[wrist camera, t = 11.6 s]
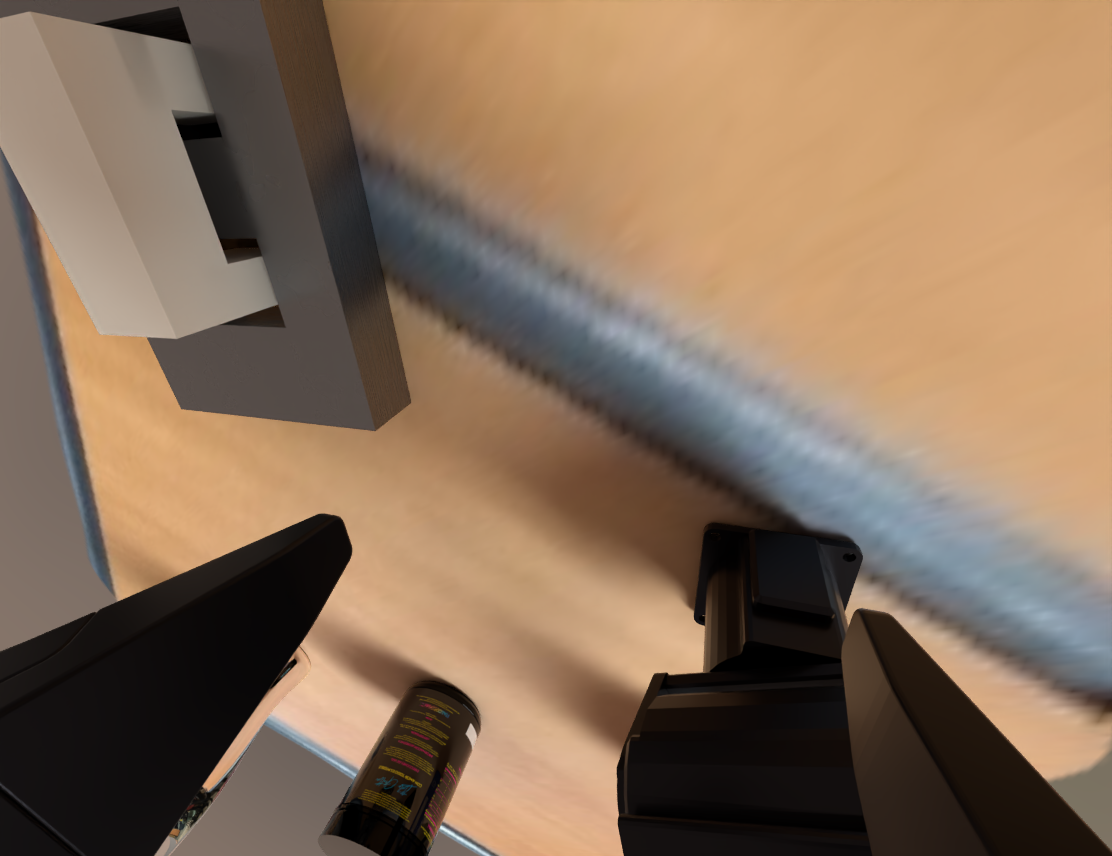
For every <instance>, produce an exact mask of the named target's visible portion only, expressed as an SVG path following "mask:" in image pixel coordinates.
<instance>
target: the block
mask: <svg viewBox="0 0 1112 856" xmlns="http://www.w3.org/2000/svg"><path fill="white" fill-rule="evenodd" d="M216 122H217V119H216V116H215V113H214V110H213V107H212V104H211V101H210V98H209V95H208V92H207V89H206V86H205V83H204V80H203V77H202V74H201V71H200V68H199V65H198V62H197V59H196V56H195V53H194V50H193V47H192V44H187V43H183V42H178V41H173V40H168V39H163V38H158V37H153V36H148V35H143V34H138V33H133V32H128V31H124V30H119V29H114V28H109V27H104V26H99V25H94V24H89V23H84V22H79V21H74V20H69V19H64V18H60V17H55V16H50V15H45V14H40V13H35V12H25V13H21V14H16V15H12V16H8V17H3V18H0V147H1V149H2V151H3V153H4V155H5V157H6V159H7V160H8V162H9V164H10V166H11V168H12V170H13V172H14V174H15V176H16V177H17V179H18V181H19V183H20V185H21V187H22V189H23V191H24V193H25V195H26V196H27V198H28V200H29V202H30V204H31V206H32V208H33V210H34V212H35V213H36V215H37V217H38V219H39V221H40V223H41V225H42V227H43V229H44V230H45V232H46V234H47V236H48V238H49V240H50V242H51V244H52V246H53V248H54V249H55V251H56V253H57V255H58V257H59V259H60V261H61V263H62V265H63V266H64V268H65V270H66V272H67V274H68V276H69V278H70V280H71V282H72V283H73V285H74V287H75V289H76V291H77V293H78V295H79V297H80V299H81V301H82V302H83V304H84V306H85V308H86V310H87V312H88V314H89V316H90V318H91V319H92V321H93V323H94V325H95V327H96V329H97V331H98V333H99V334H100V335H118V336H136V337H153V338H171V339H178V338H181V337H184V336H187V335H190V334H193V333H196V332H199V331H202V330H205V329H208V328H211V327H213V326H216V325H219V324H222V323H225V322H228V321H231V320H234V319H237V318H240V317H243V316H246V315H249V314H252V313H255V312H257V311H260V310H263V309H266V308H269V307H272V306H275V305H278V302H277V299H276V296H275V293H274V290H273V287H272V284H271V281H270V278H269V275H268V272H267V269H266V266H265V263H264V260H263V257H262V254H261V251H260V248H234V249H229V250H224V251H223V249H222V247H221V244H220V241H219V238H218V236H217V233H216V230H215V228H214V225H213V222H212V220H211V217H210V214H209V211H208V209H207V206H206V203H205V201H204V198H203V195H202V192H201V190H200V187H199V184H198V182H197V179H196V176H195V173H194V171H193V168H192V165H191V163H190V160H189V157H188V154H187V152H186V149H185V146H184V144H183V141H182V138H181V135H180V133H179V130H178V127H177V125H176V124H178V125H198V124H207V123H216Z"/></svg>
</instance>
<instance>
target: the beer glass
mask: <svg viewBox="0 0 1112 856" xmlns="http://www.w3.org/2000/svg"><path fill="white" fill-rule="evenodd" d="M310 670H311V665H310V661H309V659H308V657H307V656H306V654H305V653H304V651H303V650H302V649H301V648H300V647H298V648H297V650H296V651H295V653H294V654H293V656H292V657H291V659H290V660H289V661H288V663H287V664H286V666H285V667H284V669H283V670H282V672H281V673H280V675H279V676H278V677H277V679H276V680H275V682H274V683H273V685H272V686H271V688H270V689H269V690H268V692H267V693H266V695H265V696H264V698H263V699H262V701H261V702H260V704H259V705H258V706H257V708H256V709H255V711H254V712H253V714H252V715H251V717H250V718H249V719H248V721H247V722H246V724H245V725H244V727H243V728H242V730H241V731H240V733H239V734H238V735H237V737H236V738H235V740H234V741H233V743H232V744H231V746H230V747H229V748H228V750H227V751H226V753H225V754H224V756H223V757H222V759H221V760H220V762H219V763H218V764H217V766H216V767H215V769H214V770H213V772H212V773H211V775H210V776H209V778H208V779H207V780H206V782H205V783H204V785H203V786H202V788H201V789H200V791H199V792H198V793H197V795H196V796H195V798H194V799H193V801H192V802H191V804H190V805H189V807H188V808H187V809H186V811H185V812H184V814H183V815H182V817H181V818H180V820H179V821H178V822H177V824H176V825H175V827H174V828H173V830H172V831H171V833H170V834H169V836H168V837H167V838H166V840H165V841H164V843H163V844H162V846H161V847H160V849H159V850H158V851H157V853H156V854H155V856H170V855H171V854H172V852H173V851H174V850H175V849H176V848H177V847H178V845H179V844H180V843H181V842H182V841H183V840H184V839H185V837H186V836H187V835H188V834H189V833H190V831H191V830H192V829H193V828H194V827H195V825H196V824H197V823H198V822H199V820H200V819H201V818H202V817H203V815H204V814H205V813H206V812H207V810H208V809H209V808H210V806H211V805H212V804H213V802H214V801H215V800H216V798H217V797H218V796H219V794H220V793H221V791H222V789H223V788H224V787H225V785H226V784H227V782H228V781H229V779H230V778H231V776H232V775H233V773H234V772H235V770H236V768H237V767H238V765H239V763H240V762H241V760H242V759H243V757H244V755H245V754H246V752H247V750H248V749H249V747H250V745H251V744H252V742H253V740H254V739H255V737H256V735H257V734H258V732H259V730H260V729H261V727H262V725H263V724H264V723H265V721H266V719H267V718H268V717H269V715H270V714H271V713H272V711H273V710H274V708H275V707H276V706H277V705H278V704H279V703H280V701H281V700H282V699H283V698H284V697H285V696H286V695H287V694H288V693H289V692H290V691H291V690H292V689H294V688H295V687H296V686H297V685H298V684H299V683H300V682H301V681H302V680H303V679H304V678H305V677H306V676H307V675H308V674H309V672H310Z"/></svg>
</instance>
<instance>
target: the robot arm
mask: <svg viewBox="0 0 1112 856" xmlns="http://www.w3.org/2000/svg"><path fill="white" fill-rule="evenodd" d="M712 533H717V534H719V535H718V536H714V535H711V534H712ZM846 553H853V554H852V555H844V554H846ZM351 556H352V545H351V542H350V539H349V536H348V533H347V530H346V527H345V524H344V522H343V520H342V519H341V518H340V517H339V516H335V515H329V514H318V515H315V516H313V517H310V518H308V519H306V520H304V521H301V522H299V523H297V524H294V525H292V526H290V527H288V528H285V529H283V530H281V531H278V532H276V533H274V534H272V535H269V536H267V537H265V538H262V539H260V540H258V541H256V542H253V543H251V544H249V545H246V546H244V547H242V548H239V549H237V550H235V551H233V552H230V553H228V554H226V555H223V556H221V557H219V558H217V559H214V560H212V561H210V562H207V563H205V564H203V565H201V566H198V567H196V568H194V569H191V570H189V571H187V572H185V573H182V574H180V575H178V576H175V577H173V578H171V579H169V580H166V581H164V582H162V583H159V584H157V585H155V586H152V587H150V588H148V589H146V590H143V591H141V592H139V593H136V594H134V595H132V596H130V597H127V598H125V599H123V600H120V601H118V602H116V603H114V604H111V605H109V606H107V607H104V608H102V609H100V610H99V611H98V612H93V613H90V614H88V615H86V616H84V617H81V618H79V619H77V620H74V621H72V622H70V623H68V624H65V625H63V626H61V627H58V628H56V629H53V630H51V631H49V632H46V633H44V634H42V635H39V636H37V637H35V638H32V639H30V640H28V641H25V642H23V643H20V644H18V645H15V646H13V647H10V648H8V649H6V650H3V651H0V856H155V854H156V853H157V851H158V850H159V849H160V847H161V846H162V844H163V843H164V841H165V840H166V838H167V837H168V836H169V834H170V833H171V831H172V830H173V828H174V827H175V825H176V824H177V822H178V821H179V820H180V818H181V817H182V815H183V814H184V812H185V811H186V809H187V808H188V807H189V805H190V804H191V802H192V801H193V799H194V798H195V796H196V795H197V793H198V792H199V791H200V789H201V788H202V786H203V785H204V783H205V782H206V780H207V779H208V778H209V776H210V775H211V773H212V772H213V770H214V769H215V767H216V766H217V764H218V763H219V762H220V760H221V759H222V757H223V756H224V754H225V753H226V751H227V750H228V748H229V747H230V746H231V744H232V743H233V741H234V740H235V738H236V737H237V735H238V734H239V733H240V731H241V730H242V728H243V727H244V725H245V724H246V722H247V721H248V719H249V718H250V717H251V715H252V714H253V712H254V711H255V709H256V708H257V706H258V705H259V704H260V702H261V701H262V699H263V698H264V696H265V695H266V693H267V692H268V690H269V689H270V688H271V686H272V685H273V683H274V682H275V680H276V679H277V677H278V676H279V675H280V673H281V672H282V670H283V669H284V667H285V666H286V664H287V663H288V661H289V660H290V659H291V657H292V656H293V654H294V653H295V651H296V650H297V648H298V647H299V646H300V644H301V643H302V641H303V640H304V638H305V637H306V635H307V634H308V632H309V631H310V629H311V627H312V626H313V624H314V622H315V621H316V619H317V617H318V616H319V614H320V612H321V610H322V608H323V607H324V605H325V603H326V601H327V600H328V598H329V596H330V594H331V593H332V591H333V589H334V587H335V586H336V584H337V582H338V580H339V578H340V577H341V575H342V573H343V571H344V570H345V568H346V566H347V564H348V563H349V561H350V559H351ZM862 560H863V555H862V552H861V550H860V548H859V546H858V545H856V544H854V543H851V542H844V541H837V540H830V539H823V538H816V537H809V536H802V535H795V534H789V533H782V532H775V531H768V530H761V529H754V528H747V527H740V526H733V525H726V524H719V523H711V524H708V525H707V526H706V527H705V529H704V534H703V542H702V551H701V559H700V567H699V575H698V584H697V592H696V600H695V608H694V620H695V621H696V622H697V623H698V624H700V625H704V626H705V641H704V666H703V672H702V673H688V674H675V675H669V674H668V673H654V675H653V677H652V680H651V682H650V684H649V687H648V689H647V691H646V694H645V696H644V699H643V701H642V703H641V706H640V708H639V710H638V713H637V715H636V718H635V720H634V722H633V725H632V727H631V729H630V732H629V734H628V737H627V739H626V741H625V744H624V746H623V749H622V753H621V756H620V760H619V762H618V765H617V800H618V811H619V817H618V829H619V834H620V839H621V844H622V849H623V854H624V856H1112V851H1111V850H1110V848H1108V846H1107V845H1106V844H1105V843H1104V842H1103V841H1102V840H1101V839H1100V838H1099V837H1098V836H1097V835H1096V834H1095V832H1094V831H1093V830H1092V829H1091V828H1090V827H1089V826H1088V825H1087V824H1086V823H1085V822H1084V821H1083V820H1082V818H1081V817H1080V816H1079V815H1078V814H1077V813H1076V812H1075V811H1074V810H1073V809H1072V808H1071V807H1070V806H1069V805H1068V803H1067V802H1066V801H1065V800H1064V799H1063V798H1062V797H1061V796H1060V795H1059V794H1058V793H1057V792H1056V791H1055V790H1054V788H1053V787H1052V786H1051V785H1050V784H1049V783H1048V782H1047V781H1046V780H1045V779H1044V778H1043V777H1042V776H1041V774H1040V773H1039V772H1038V771H1037V770H1036V769H1035V768H1034V767H1033V766H1032V765H1031V764H1030V763H1029V762H1028V761H1027V759H1026V758H1025V757H1024V756H1023V755H1022V754H1021V753H1020V752H1019V751H1018V750H1017V749H1016V748H1015V747H1014V746H1013V744H1012V743H1011V742H1010V741H1009V740H1008V739H1007V738H1006V737H1005V736H1004V735H1003V734H1002V733H1001V732H1000V731H999V729H998V728H997V727H996V726H995V725H994V724H993V723H992V722H991V721H990V720H989V719H988V718H987V717H986V716H985V714H984V713H983V712H982V711H981V710H980V709H979V708H978V707H977V706H976V705H975V704H974V703H973V702H972V701H971V699H970V698H969V697H968V696H967V695H966V694H965V693H964V692H963V691H962V690H961V689H960V688H959V687H958V686H957V684H956V683H955V682H954V681H953V680H952V679H951V678H950V677H949V676H948V675H947V674H946V673H945V672H944V671H943V669H942V668H941V667H940V666H939V665H938V664H937V663H936V662H935V661H934V660H933V659H932V658H931V657H930V655H929V654H928V653H927V652H926V651H925V650H924V649H923V648H922V647H921V646H920V645H919V644H918V643H917V642H916V640H915V639H914V638H913V637H912V636H911V635H910V634H909V633H908V632H907V631H906V630H905V629H904V628H903V627H902V625H901V624H900V623H899V622H898V621H897V620H896V619H895V618H894V617H893V616H891V615H890V614H888V613H885V612H880V611H874V610H869V609H863V608H860V609H857V610H856V611H855V612H854V614H853V616H852V619H851V622H850V625H849V627H848V623H847V619H846V615H845V610H846V607H847V604H848V601H849V598H850V595H851V592H852V589H853V586H854V583H855V580H856V577H857V574H858V571H859V569H860V566H861V563H862ZM702 615H705V616H702Z"/></svg>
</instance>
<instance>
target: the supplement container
mask: <svg viewBox="0 0 1112 856" xmlns="http://www.w3.org/2000/svg"><path fill="white" fill-rule="evenodd" d="M480 731H481V719H480V715H479V712H478V710H477V708H476V707H475V705H474V704H473V703H472V702H471V701H470V700H469V699H468V698H467V697H466V696H464V695H463V694H462V693H460V692H459V691H457V690H456V689H454V688H452V687H450V686H447V685H445V684H442V683H438V682H433V681H422V682H419V683H416V684H414V685H412V686H411V687H410V688H409V689H407V691H406V692H405V694H404V695H403V697H402V699H401V700H400V702H399V704H398V705H397V707H396V709H395V711H394V712H393V714H392V716H391V717H390V719H389V721H388V722H387V724H386V726H385V727H384V729H383V731H382V733H381V734H380V736H379V738H378V739H377V741H376V743H375V744H374V746H373V748H372V749H371V751H370V753H369V755H368V756H367V758H366V760H365V761H364V763H363V765H362V766H361V768H360V770H359V771H358V773H357V775H356V777H355V778H354V780H353V782H352V784H351V785H350V787H349V788H348V790H347V792H346V794H345V795H344V797H343V799H342V800H341V802H340V804H339V805H338V806H337V807H336V808H335V810H334V812H333V815H332V816H331V818H330V820H329V821H328V823H327V825H326V827H325V828H324V830H323V831H322V833H321V835H320V836H319V838H318V843H319V845H320V847H321V848H322V850H323V851H324V852H325V854H326V855H327V856H428V854H429V852H430V850H431V848H432V845H433V843H434V840H435V838H436V836H437V833H438V831H439V829H440V826H441V824H442V821H443V819H444V817H445V814H446V812H447V810H448V807H449V805H450V802H451V800H452V798H453V795H454V793H455V791H456V788H457V786H458V783H459V781H460V779H461V776H462V774H463V772H464V769H465V767H466V764H467V762H468V760H469V757H470V755H471V753H472V750H473V748H474V745H475V743H476V741H477V738H478V736H479V734H480Z"/></svg>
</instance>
